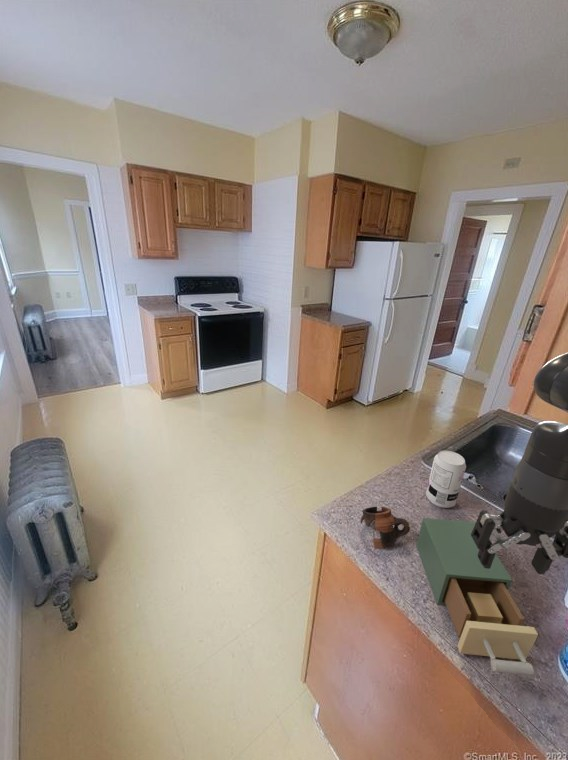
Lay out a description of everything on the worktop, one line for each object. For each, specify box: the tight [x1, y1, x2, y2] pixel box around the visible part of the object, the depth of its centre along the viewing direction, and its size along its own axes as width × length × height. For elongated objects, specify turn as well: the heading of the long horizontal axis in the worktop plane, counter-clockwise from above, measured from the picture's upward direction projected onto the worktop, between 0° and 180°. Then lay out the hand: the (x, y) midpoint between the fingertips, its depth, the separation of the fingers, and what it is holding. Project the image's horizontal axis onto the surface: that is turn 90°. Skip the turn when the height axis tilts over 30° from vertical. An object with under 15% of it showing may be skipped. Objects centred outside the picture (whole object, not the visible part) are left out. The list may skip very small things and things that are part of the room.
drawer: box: [443, 577, 539, 676], centre depth 61 cm, size 18×11×7 cm, turn 175°
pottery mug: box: [359, 506, 411, 549], centre depth 83 cm, size 12×10×8 cm
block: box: [465, 592, 503, 624], centre depth 62 cm, size 4×4×4 cm
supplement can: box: [425, 450, 467, 509], centre depth 93 cm, size 8×8×15 cm
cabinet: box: [415, 517, 513, 606], centre depth 72 cm, size 15×13×9 cm
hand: (510, 566), depth 54 cm, fingers open, 8 cm apart
